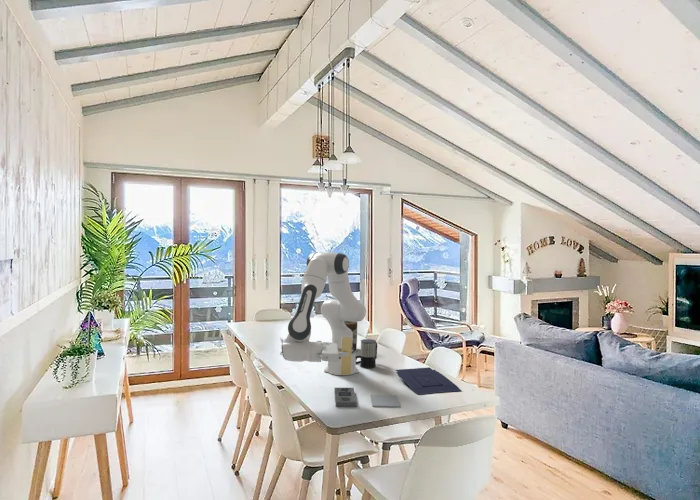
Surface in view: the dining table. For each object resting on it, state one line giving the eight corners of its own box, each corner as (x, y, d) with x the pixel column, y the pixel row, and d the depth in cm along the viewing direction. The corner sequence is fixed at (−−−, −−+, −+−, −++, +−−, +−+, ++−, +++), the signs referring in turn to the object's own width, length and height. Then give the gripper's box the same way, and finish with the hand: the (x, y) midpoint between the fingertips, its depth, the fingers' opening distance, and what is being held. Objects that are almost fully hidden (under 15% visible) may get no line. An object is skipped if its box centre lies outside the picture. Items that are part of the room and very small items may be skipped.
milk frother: (374, 369, 259) (375, 342, 259) (347, 366, 263) (347, 340, 262) (378, 362, 273) (378, 337, 273) (352, 360, 277) (352, 336, 276)
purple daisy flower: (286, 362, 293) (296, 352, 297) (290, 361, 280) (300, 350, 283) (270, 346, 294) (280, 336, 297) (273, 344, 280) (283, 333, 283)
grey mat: (370, 396, 214) (370, 394, 214) (396, 396, 214) (396, 395, 214) (372, 406, 200) (372, 405, 200) (400, 407, 200) (400, 406, 200)
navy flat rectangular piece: (432, 371, 253) (432, 365, 252) (462, 396, 225) (462, 389, 224) (391, 374, 245) (392, 368, 245) (417, 400, 217) (417, 392, 217)
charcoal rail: (334, 391, 218) (334, 387, 218) (353, 391, 219) (353, 387, 219) (335, 406, 198) (335, 402, 198) (356, 407, 199) (356, 402, 199)
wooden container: (356, 352, 298) (357, 318, 298) (333, 351, 298) (334, 317, 298) (356, 347, 313) (357, 314, 312) (334, 346, 313) (335, 314, 313)
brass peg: (340, 371, 212) (341, 336, 211) (350, 371, 212) (351, 337, 212) (340, 374, 207) (341, 339, 207) (350, 374, 207) (352, 339, 207)
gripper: (317, 350, 198) (349, 350, 199) (318, 339, 219) (347, 340, 219) (317, 365, 198) (349, 365, 199) (317, 353, 219) (346, 353, 220)
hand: (348, 352), depth 209 cm, fingers closed on brass peg, 4 cm apart
